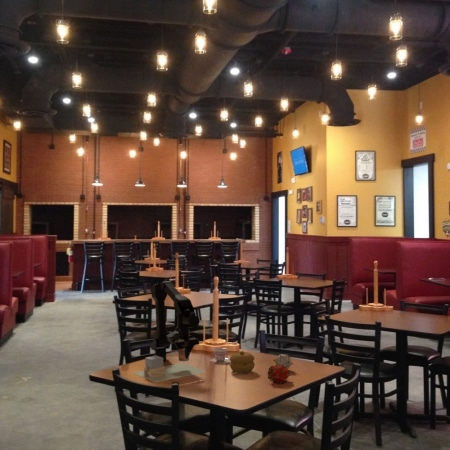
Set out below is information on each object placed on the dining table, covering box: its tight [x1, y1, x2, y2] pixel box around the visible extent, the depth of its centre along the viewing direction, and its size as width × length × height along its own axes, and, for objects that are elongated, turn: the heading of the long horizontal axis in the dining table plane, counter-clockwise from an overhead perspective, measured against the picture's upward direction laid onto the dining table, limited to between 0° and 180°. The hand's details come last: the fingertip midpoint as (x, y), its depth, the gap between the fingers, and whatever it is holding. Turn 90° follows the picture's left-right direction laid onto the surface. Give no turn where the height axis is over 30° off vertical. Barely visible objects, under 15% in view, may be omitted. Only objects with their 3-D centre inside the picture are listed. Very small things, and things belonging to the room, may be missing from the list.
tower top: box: [144, 355, 164, 369], centre depth 241 cm, size 6×6×4 cm
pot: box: [229, 350, 256, 375], centre depth 245 cm, size 12×12×10 cm
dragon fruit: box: [267, 364, 290, 384], centre depth 228 cm, size 8×8×12 cm
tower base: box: [143, 365, 166, 378], centre depth 241 cm, size 7×7×4 cm
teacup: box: [209, 347, 231, 365], centre depth 267 cm, size 12×12×6 cm
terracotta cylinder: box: [178, 348, 190, 362], centre depth 250 cm, size 5×5×5 cm
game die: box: [273, 352, 294, 369], centre depth 247 cm, size 9×8×10 cm
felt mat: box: [131, 362, 207, 383], centre depth 246 cm, size 22×28×1 cm
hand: (183, 357), depth 250 cm, fingers closed on terracotta cylinder, 5 cm apart
